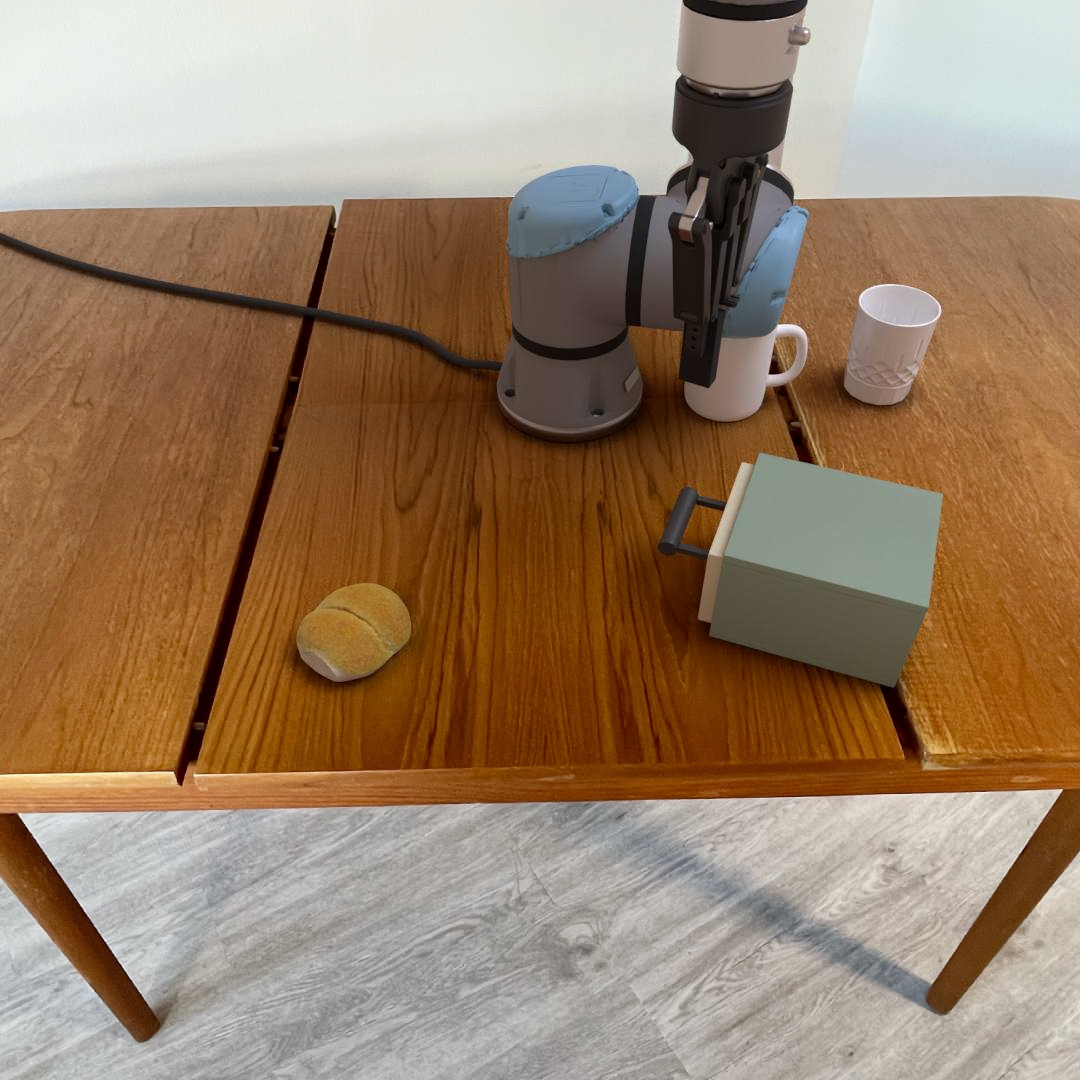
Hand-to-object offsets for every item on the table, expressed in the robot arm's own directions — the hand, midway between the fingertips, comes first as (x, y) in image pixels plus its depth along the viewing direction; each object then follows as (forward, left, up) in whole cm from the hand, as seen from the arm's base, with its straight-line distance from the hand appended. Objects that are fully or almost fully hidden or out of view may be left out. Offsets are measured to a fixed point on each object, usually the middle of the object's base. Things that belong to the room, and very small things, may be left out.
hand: (696, 378), depth 76 cm
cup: (+2, +18, -15) cm, 23 cm away
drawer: (+10, -8, -13) cm, 18 cm away
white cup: (+15, +25, -15) cm, 32 cm away
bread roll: (-20, -25, -15) cm, 35 cm away
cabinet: (+14, -8, -14) cm, 21 cm away
